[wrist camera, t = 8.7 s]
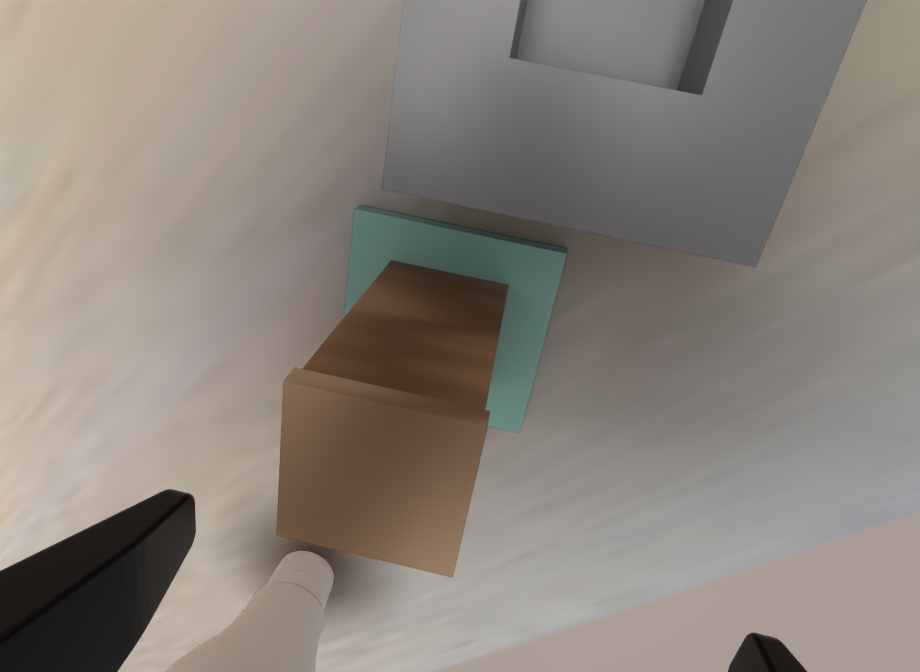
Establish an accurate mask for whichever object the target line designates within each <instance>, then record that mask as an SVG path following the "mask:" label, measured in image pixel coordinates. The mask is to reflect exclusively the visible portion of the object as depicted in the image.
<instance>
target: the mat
mask: <svg viewBox="0 0 920 672" xmlns="http://www.w3.org/2000/svg"><path fill="white" fill-rule="evenodd" d="M566 257H567V248H562V247H557V246H552V245H548V244H543V243H538V242H533V241H529V240H524V239H519V238H514V237H509V236H505V235H500V234H495V233H490V232H486V231H481V230H476V229H471V228H467V227H462V226H457V225H452V224H448V223H443V222H438V221H433V220H429V219H424V218H419V217H414V216H409V215H405V214H400V213H395V212H390V211H386V210H381V209H376V208H371V207H367V206H362V205H359V206H358V207H356V208H355V209H354V218H353V228H352V238H351V249H350V259H349V269H348V280H347V290H346V300H345V310H344V317H345V316H346V315H347V314H348V312H349V311H350V310H351V309H352V307H353V306H354V305H355V304H356V302H357V301H358V300H359V299H360V298H361V296H362V295H363V294H364V293H365V291H366V290H367V289H368V288H369V286H370V285H371V284H372V283H373V282H374V280H375V279H376V278H377V277H378V275H379V274H380V273H381V272H382V271H383V269H384V268H385V267H386V266H387V264H388V263H389V262H390V261H391V260H394V261H398V262H403V263H408V264H412V265H417V266H422V267H427V268H431V269H436V270H441V271H446V272H450V273H455V274H460V275H465V276H469V277H474V278H479V279H484V280H488V281H493V282H498V283H503V284H507V285H509V287H508V292H507V297H506V303H505V308H504V313H503V319H502V324H501V329H500V335H499V340H498V345H497V351H496V356H495V361H494V367H493V372H492V377H491V383H490V388H489V393H488V399H487V404H486V409H485V410H489V411H490V415H489V421H488V426H490V427H494V428H499V429H503V430H508V431H512V432H517V433H520V430H521V427H522V423H523V419H524V415H525V412H526V408H527V404H528V400H529V397H530V393H531V389H532V385H533V381H534V378H535V374H536V370H537V366H538V363H539V359H540V355H541V351H542V347H543V344H544V340H545V336H546V332H547V329H548V325H549V321H550V317H551V313H552V310H553V306H554V302H555V298H556V295H557V291H558V287H559V283H560V280H561V276H562V272H563V268H564V264H565V261H566Z"/></svg>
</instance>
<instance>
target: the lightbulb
mask: <svg viewBox="0 0 920 672" xmlns="http://www.w3.org/2000/svg"><path fill="white" fill-rule="evenodd" d="M333 581H334V574H333V571H332V569H331V567H330V565H329V564H328V562H327V561H326V560H325V559H324V558H322V557H321V556H319V555H317V554H315V553H312V552H309V551H296V552H292V553H289V554H287V555H286V556H285V557H284V558H283V559H282V560H281V562H280V563H279V565H278V566H277V567H276V569H275V570H274V572H273V574H272V575H271V577H270V578H269V581H268V583H267V584H266V585H265V586H263V587H261V588H260V589H259V590H258V591H257V592H256V593H255V594H254V596H253V597H252V599H251V600H250V602H249V603H248V605H247V606H246V608H245V609H244V610H243V611H242V612H241V614H240V615H239V616H238V617H237V618H236V619H235V621H234V622H233V623H232V624H231V625H229V626H228V627H227V628H226V629H225V630H223V631H222V632H221V633H220V634H218V635H216V636H214V637H213V638H211V639H209V640H208V641H206V642H204V643H202V644H201V645H199V646H198V647H196V648H195V649H193V650H192V651H190V652H189V653H188V654H186V655H185V656H183V657H182V658H180V659H179V660H178V661H176V662H175V663H174V664H173V665H172V666H170V667H169V668H168V669H167V670H166V671H165V672H315V659H316V653H317V647H318V642H319V638H320V635H321V632H322V629H323V626H324V611H323V610H324V609H325V606H326V603H327V600H328V597H329V593H330V591H331V589H332V584H333Z"/></svg>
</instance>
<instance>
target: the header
mask: <svg viewBox="0 0 920 672" xmlns="http://www.w3.org/2000/svg"><path fill="white" fill-rule="evenodd" d="M866 1H867V0H403V9H402V17H401V26H400V35H399V43H398V52H397V61H396V69H395V78H394V87H393V95H392V104H391V112H390V121H389V130H388V138H387V147H386V156H385V164H384V173H383V182H382V190H387V191H392V192H397V193H401V194H406V195H411V196H416V197H421V198H425V199H430V200H435V201H440V202H445V203H449V204H454V205H459V206H464V207H469V208H473V209H478V210H483V211H488V212H493V213H497V214H502V215H507V216H512V217H517V218H521V219H526V220H531V221H536V222H541V223H546V224H550V225H555V226H560V227H565V228H570V229H574V230H579V231H584V232H589V233H594V234H598V235H603V236H608V237H613V238H618V239H622V240H627V241H632V242H637V243H642V244H646V245H651V246H656V247H661V248H666V249H670V250H675V251H680V252H685V253H690V254H694V255H699V256H704V257H709V258H714V259H718V260H723V261H728V262H733V263H738V264H742V265H747V266H752V267H756V266H757V264H758V261H759V259H760V256H761V254H762V252H763V249H764V247H765V244H766V242H767V240H768V237H769V235H770V232H771V230H772V227H773V225H774V223H775V220H776V218H777V215H778V213H779V211H780V208H781V206H782V203H783V201H784V199H785V196H786V194H787V191H788V189H789V186H790V184H791V182H792V179H793V177H794V174H795V172H796V170H797V167H798V165H799V162H800V160H801V158H802V155H803V153H804V150H805V148H806V146H807V143H808V141H809V138H810V136H811V133H812V131H813V129H814V126H815V124H816V121H817V119H818V117H819V114H820V112H821V109H822V107H823V105H824V102H825V100H826V97H827V95H828V93H829V90H830V88H831V85H832V83H833V80H834V78H835V76H836V73H837V71H838V68H839V66H840V64H841V61H842V59H843V56H844V54H845V52H846V49H847V47H848V44H849V42H850V39H851V37H852V35H853V32H854V30H855V27H856V25H857V23H858V20H859V18H860V15H861V13H862V11H863V8H864V6H865V3H866Z"/></svg>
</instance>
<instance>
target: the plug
mask: <svg viewBox="0 0 920 672" xmlns="http://www.w3.org/2000/svg"><path fill="white" fill-rule="evenodd" d="M508 287H509V285H507V284H503V283H498V282H493V281H488V280H484V279H479V278H474V277H469V276H465V275H460V274H455V273H450V272H446V271H441V270H436V269H431V268H427V267H422V266H417V265H412V264H408V263H403V262H398V261H394V260H391V261H390V262H389V263H388V264H387V266H386V267H385V268H384V269H383V271H382V272H381V273H380V274H379V275H378V277H377V278H376V279H375V280H374V282H373V283H372V284H371V285H370V286H369V288H368V289H367V290H366V291H365V293H364V294H363V295H362V296H361V298H360V299H359V300H358V301H357V302H356V304H355V305H354V306H353V307H352V309H351V310H350V311H349V312H348V314H347V315H346V316H345V317H344V318H343V320H342V321H341V322H340V323H339V325H338V326H337V327H336V328H335V329H334V331H333V332H332V333H331V334H330V336H329V337H328V338H327V339H326V341H325V342H324V343H323V344H322V345H321V347H320V348H319V349H318V350H317V352H316V353H315V354H314V355H313V357H312V358H311V359H310V360H309V361H308V363H307V364H306V365H305V366H304V368H303V369H300V368H296V367H295V368H294V369H293V371H292V372H291V373H290V374H289V375H288V376H287V378H286V379H285V380H284V383H283V405H282V426H281V447H280V468H279V489H278V511H277V532H276V535H277V536H281V537H285V538H289V539H293V540H298V541H302V542H306V543H310V544H314V545H319V546H323V547H327V548H331V549H335V550H340V551H344V552H348V553H352V554H356V555H360V556H365V557H369V558H373V559H377V560H381V561H386V562H390V563H394V564H398V565H402V566H407V567H411V568H415V569H419V570H423V571H428V572H432V573H436V574H440V575H444V576H449V577H453V574H454V570H455V566H456V561H457V557H458V553H459V548H460V544H461V540H462V535H463V531H464V527H465V522H466V518H467V514H468V509H469V505H470V501H471V496H472V492H473V488H474V483H475V479H476V475H477V470H478V466H479V462H480V457H481V453H482V449H483V444H484V440H485V436H486V431H487V427H488V421H489V415H490V411H489V410H485V409H486V404H487V399H488V393H489V388H490V383H491V377H492V372H493V367H494V361H495V356H496V351H497V345H498V340H499V335H500V329H501V324H502V319H503V313H504V308H505V303H506V297H507V292H508Z"/></svg>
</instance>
